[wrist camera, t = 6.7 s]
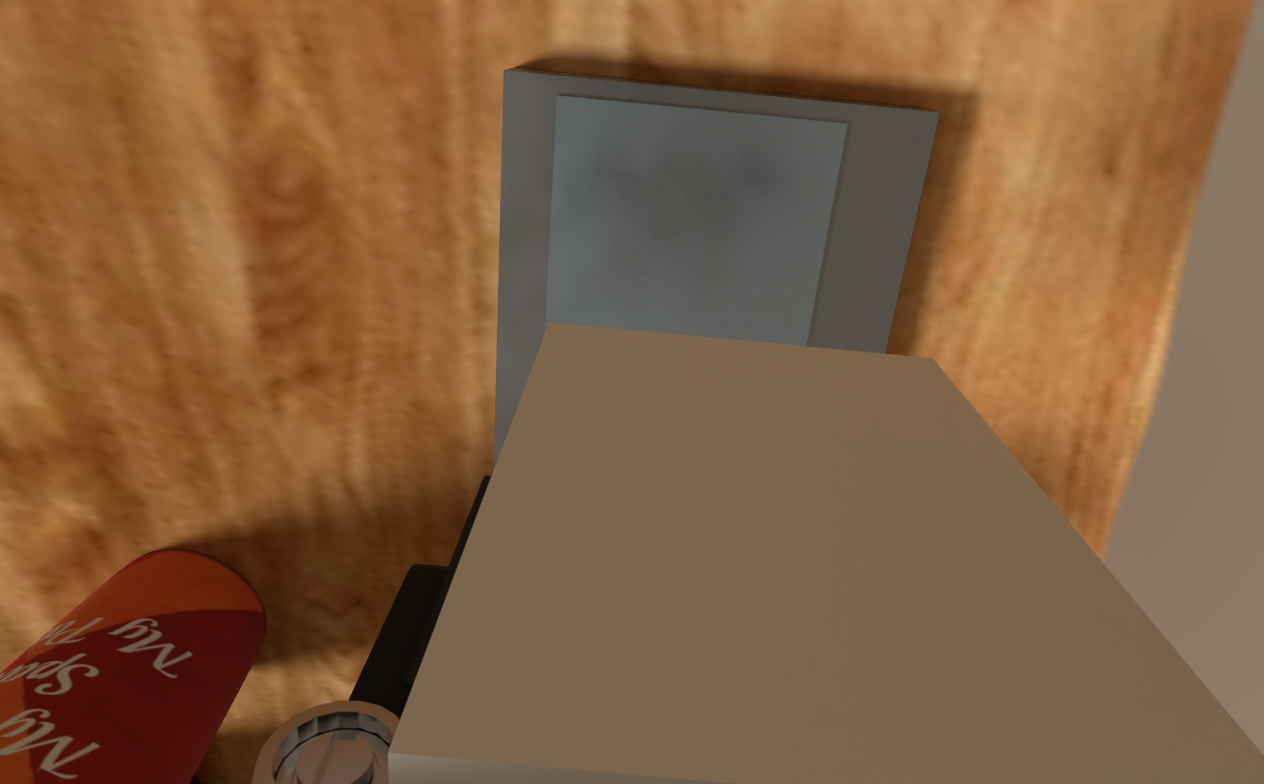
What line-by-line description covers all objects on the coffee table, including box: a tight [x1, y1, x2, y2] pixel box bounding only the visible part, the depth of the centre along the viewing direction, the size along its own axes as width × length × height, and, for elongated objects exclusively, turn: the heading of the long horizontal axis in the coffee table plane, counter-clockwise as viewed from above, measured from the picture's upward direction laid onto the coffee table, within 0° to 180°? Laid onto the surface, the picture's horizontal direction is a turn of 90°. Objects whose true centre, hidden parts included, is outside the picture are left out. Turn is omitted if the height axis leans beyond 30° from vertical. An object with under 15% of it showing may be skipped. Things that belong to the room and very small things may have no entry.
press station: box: [494, 68, 940, 468], centre depth 24 cm, size 20×12×8 cm, turn 175°
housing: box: [388, 322, 1264, 784], centre depth 9 cm, size 7×5×7 cm
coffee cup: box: [0, 550, 266, 784], centre depth 26 cm, size 8×8×15 cm
